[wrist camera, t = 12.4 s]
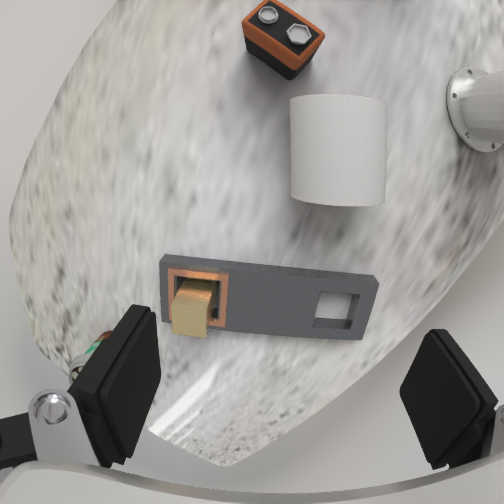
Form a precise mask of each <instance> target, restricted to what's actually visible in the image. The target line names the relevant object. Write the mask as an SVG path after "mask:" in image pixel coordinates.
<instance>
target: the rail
mask: <svg viewBox="0 0 504 504" xmlns="http://www.w3.org/2000/svg"><path fill="white" fill-rule="evenodd" d="M159 268H160V297H161V316H162V322H168V323H172V314H171V303H172V302H173V300H174V298H175V296H176V294H177V292H178V290H179V289H180V287H181V277H188V278H197V279H205V280H214V281H220V287H219V305H218V309H217V308H214V311H213V314H212V318H211V321H210V325H209V328H211V329H219V330H227V331H236V332H245V333H255V334H266V335H278V336H291V337H305V338H322V339H344V340H362V338H363V335H364V332H365V329H366V326H367V323H368V320H369V317H370V313H371V310H372V307H373V304H374V300H375V297H376V294H377V290H378V287H379V282H378V281H377V280H376V278H375V277H374V276H373V275H363V274H352V273H342V272H332V271H321V270H311V269H301V268H291V267H281V266H272V265H262V264H252V263H243V262H233V261H224V260H215V259H205V258H196V257H187V256H178V255H169V254H165V255H164V256H163V257H162V259H161V260H160V261H159ZM320 291H325V292H337V293H349V294H353V298H352V301H351V305H350V309H349V312H348V316H347V319H346V320H342V319H326V318H314V317H315V312H316V308H317V303H318V299H319V294H320Z"/></svg>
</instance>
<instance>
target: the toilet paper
mask: <svg viewBox="0 0 504 504" xmlns="http://www.w3.org/2000/svg"><path fill="white" fill-rule="evenodd" d="M386 161H387V104H386V103H385V102H383V101H381V100H378V99H374V98H369V97H364V96H357V95H347V94H310V95H302V96H297V97H293V98H291V99H290V195H291V197H292V198H294V199H297V200H300V201H304V202H309V203H316V204H323V205H334V206H375V205H380V204H383V203H384V200H385V184H386Z"/></svg>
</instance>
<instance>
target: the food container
mask: <svg viewBox="0 0 504 504" xmlns="http://www.w3.org/2000/svg"><path fill="white" fill-rule="evenodd" d="M111 333H112V331H108V332H104V333H103V334H102V335H101V336H100V337H99V338H98V339H97V340H96V341H95V342H94V344H93V345H92V346H91V347H90V348H89V349H88V350H87V351H86V353H85V354H82V355H79V356H77V357H76V358H75V359H74V360H73V362H72V364H71V367H70V370H69V382H70V385H72V383H73V382H74V380H75V379H76V377H77V376H78V374H79V373H80V371H81V370H82V368H83V367H84V365H85V364H86V362H87V361H88V359H89V358H90V357H91V355H92V354H93V352H94V351H95V349H96V348H97V347H98V345H99V344H100V342H101V341H102V340H103V339H105V338H107V339H108V337H109V336H110V334H111Z"/></svg>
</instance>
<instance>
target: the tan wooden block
mask: <svg viewBox="0 0 504 504" xmlns="http://www.w3.org/2000/svg"><path fill="white" fill-rule="evenodd" d="M216 286H217V281H214V280H205V279H197V278H188V277H186V278H185V279H184V281H183V283H182V285H181V287H180V289H179V290H178V292H177V294H176V296H175V298H174V300H173V302H172V303H171V314H172V333H174V334H181V335H187V336H194V337H201V338H206V336H207V332H208V329H209V325H210V321H211V318H212V314H213V311H214V307H215V304H216Z"/></svg>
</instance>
